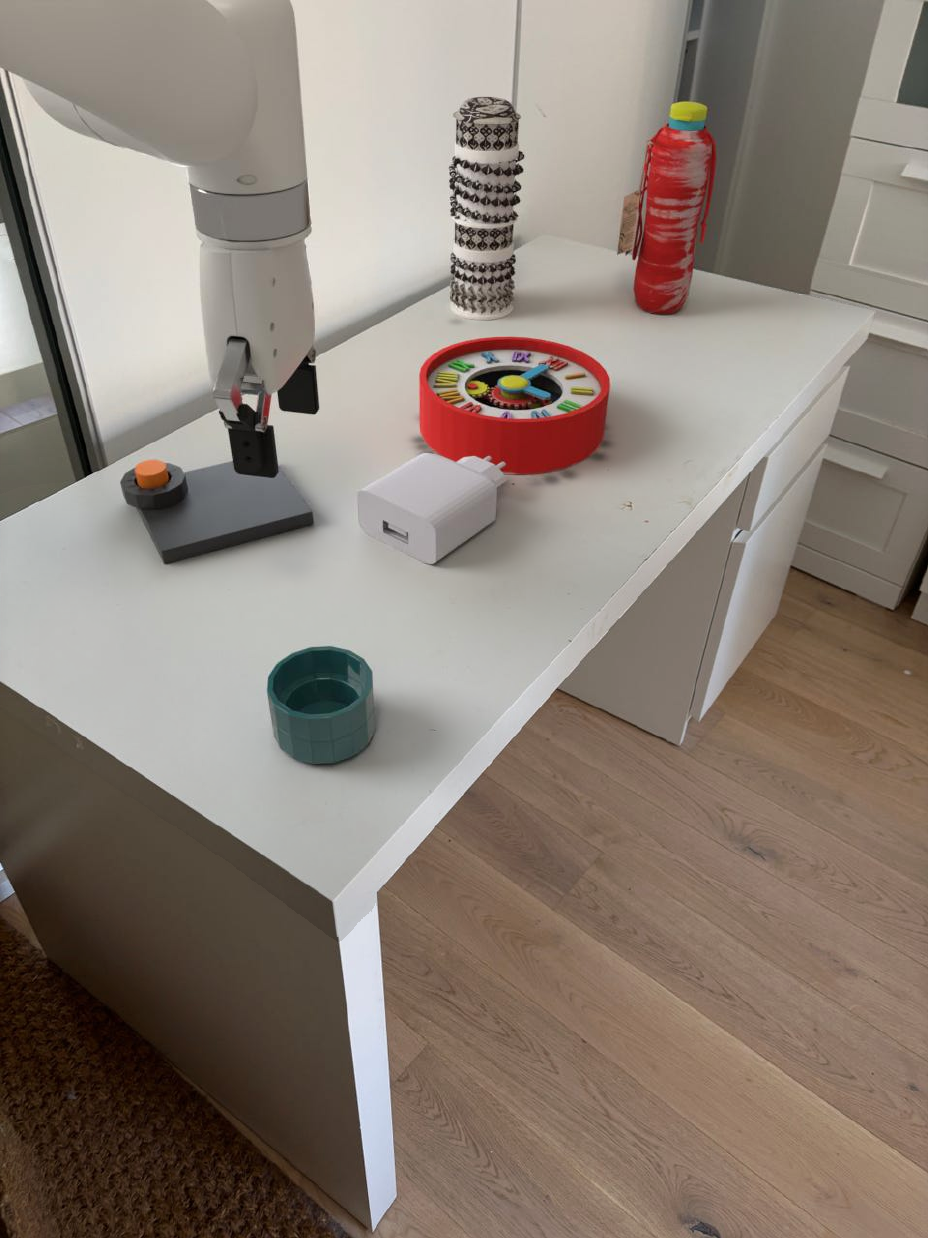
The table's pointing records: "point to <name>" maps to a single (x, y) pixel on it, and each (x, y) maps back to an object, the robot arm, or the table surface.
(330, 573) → the table surface
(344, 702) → the bowl
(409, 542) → the charger
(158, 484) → the button
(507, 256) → the decorative candle
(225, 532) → the dark grey flat slab
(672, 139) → the water bottle
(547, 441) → the toy clock
